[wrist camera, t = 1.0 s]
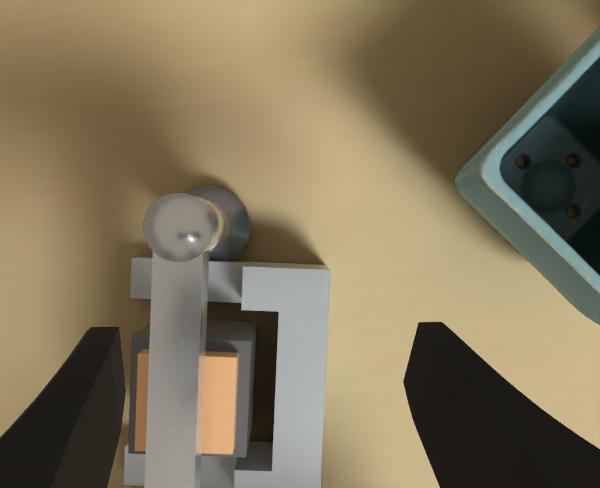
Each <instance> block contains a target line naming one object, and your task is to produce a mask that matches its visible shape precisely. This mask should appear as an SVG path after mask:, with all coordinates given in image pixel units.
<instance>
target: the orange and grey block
mask: <svg viewBox="0 0 600 488" xmlns="http://www.w3.org/2000/svg"><path fill="white" fill-rule="evenodd" d="M256 335H257V322H246V321H221V320H207V326H206V351H205V377H204V403H203V428H202V454H201V456H214V457H244V458H246V456H247V450H248V445H249V439H250V433H251V428H252V422H253V406H254V382H255V359H256ZM149 343H150V324H149V325H148V326H146V327H145V328H143V329H142V330H141V331H139V332H138V333H136V334H135V335H134V336H132V356H131V385H130V415H129V444H128V454H146V428H147V399H148V371H149Z"/></svg>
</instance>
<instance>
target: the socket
mask: <svg viewBox="0 0 600 488" xmlns="http://www.w3.org/2000/svg"><path fill="white" fill-rule="evenodd" d="M152 258H153V257H134V258H131V280H130V298H136V299H151V286H152ZM330 272H331V270H330V269H329V268H328V267H327V266H326V265H319V264H296V263H273V262H250V261H230V262H224V261H209V274H208V300H207V301H209V302H233V303H242V304H241V310H251V311H275V312H279V318H278V341H277V364H276V387H275V410H274V433H273V442H259V441H249V445H248V450H247V456H246V458H244V457H214V456H201V480H200V488H320V487H321V466H322V444H323V423H324V401H325V380H326V358H327V337H328V315H329V294H330ZM128 444H129V441H128V442H127V444H126V445H125V456H124V485H135V486H144V484H145V456H146V454H128Z"/></svg>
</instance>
